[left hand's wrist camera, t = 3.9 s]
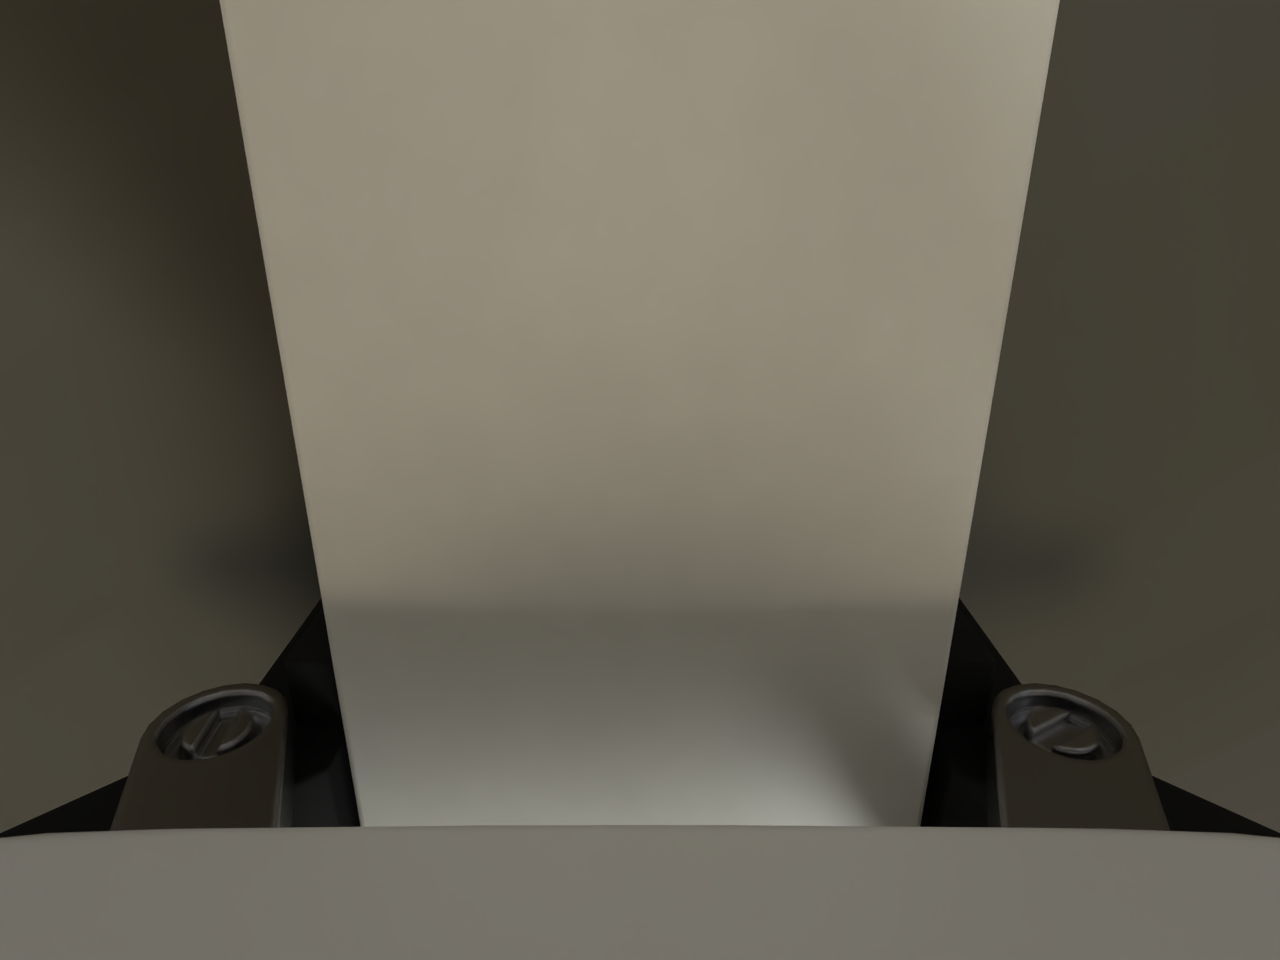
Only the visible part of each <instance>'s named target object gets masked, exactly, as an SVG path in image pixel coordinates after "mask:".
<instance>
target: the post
mask: <svg viewBox="0 0 1280 960" xmlns="http://www.w3.org/2000/svg"><path fill="white" fill-rule="evenodd" d="M1059 1H1060V0H220V6H221V12H222V18H223V24H224V30H225V36H226V41H227V47H228V53H229V59H230V65H231V71H232V76H233V82H234V88H235V94H236V100H237V106H238V112H239V117H240V123H241V129H242V135H243V141H244V147H245V153H246V158H247V164H248V170H249V176H250V182H251V188H252V194H253V199H254V205H255V211H256V217H257V223H258V229H259V235H260V240H261V246H262V252H263V258H264V264H265V270H266V276H267V281H268V287H269V293H270V299H271V305H272V311H273V317H274V322H275V328H276V334H277V340H278V346H279V352H280V358H281V363H282V369H283V375H284V381H285V387H286V393H287V398H288V404H289V410H290V416H291V422H292V428H293V434H294V439H295V445H296V451H297V457H298V463H299V469H300V475H301V480H302V486H303V492H304V498H305V504H306V510H307V516H308V521H309V527H310V533H311V539H312V545H313V551H314V557H315V562H316V568H317V574H318V580H319V586H320V592H321V598H322V603H323V609H324V615H325V621H326V627H327V633H328V639H329V644H330V650H331V656H332V662H333V668H334V674H335V679H336V685H337V691H338V697H339V703H340V709H341V715H342V720H343V726H344V732H345V738H346V744H347V750H348V756H349V761H350V767H351V773H352V779H353V785H354V791H355V797H356V802H357V808H358V814H359V820H360V826H361V827H386V826H474V825H772V826H883V827H920V825H921V819H922V813H923V807H924V801H925V795H926V789H927V783H928V777H929V772H930V766H931V760H932V754H933V748H934V742H935V736H936V730H937V724H938V718H939V712H940V706H941V700H942V694H943V689H944V683H945V677H946V671H947V665H948V659H949V653H950V647H951V641H952V635H953V629H954V623H955V617H956V611H957V606H958V600H959V594H960V588H961V582H962V576H963V570H964V564H965V558H966V552H967V546H968V540H969V534H970V528H971V523H972V517H973V511H974V505H975V499H976V493H977V487H978V481H979V475H980V469H981V463H982V457H983V451H984V445H985V440H986V434H987V428H988V422H989V416H990V410H991V404H992V398H993V392H994V386H995V380H996V374H997V368H998V362H999V357H1000V351H1001V345H1002V339H1003V333H1004V327H1005V321H1006V315H1007V309H1008V303H1009V297H1010V291H1011V285H1012V280H1013V274H1014V268H1015V262H1016V256H1017V250H1018V244H1019V238H1020V232H1021V226H1022V220H1023V214H1024V208H1025V202H1026V197H1027V191H1028V185H1029V179H1030V173H1031V167H1032V161H1033V155H1034V149H1035V143H1036V137H1037V131H1038V125H1039V119H1040V114H1041V108H1042V102H1043V96H1044V90H1045V84H1046V78H1047V72H1048V66H1049V60H1050V54H1051V48H1052V42H1053V36H1054V31H1055V25H1056V19H1057V13H1058V7H1059Z"/></svg>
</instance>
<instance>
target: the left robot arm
mask: <svg viewBox="0 0 1280 960" xmlns="http://www.w3.org/2000/svg"><path fill="white" fill-rule="evenodd" d="M0 960H1280V833H1278V832H1276V831H1274V830H1271V829H1269V828H1267V827H1265V826H1263V825H1260V824H1258V823H1256V822H1254V821H1251V820H1249V819H1247V818H1245V817H1243V816H1240V815H1238V814H1236V813H1234V812H1231V811H1229V810H1227V809H1225V808H1223V807H1220V806H1218V805H1216V804H1214V803H1211V802H1209V801H1207V800H1205V799H1203V798H1200V797H1198V796H1196V795H1194V794H1191V793H1189V792H1187V791H1185V790H1183V789H1180V788H1178V787H1176V786H1174V785H1171V784H1169V783H1167V782H1165V781H1163V780H1160V779H1158V778H1156V777H1154V776H1152V775H1151V772H1150V769H1149V766H1148V763H1147V760H1146V757H1145V754H1144V751H1143V748H1142V746H1141V743H1140V740H1139V738H1138V736H1137V734H1136V732H1135V731H1134V729H1133V727H1132V726H1131V724H1130V723H1129V722H1127V721H1126V720H1125V719H1124V718H1123V717H1122V716H1121V715H1120V714H1119V713H1118V712H1117V711H1115V710H1113V709H1112V708H1110V707H1109V706H1107V705H1105V704H1104V703H1102V702H1101V701H1099V700H1097V699H1095V698H1092V697H1090V696H1087V695H1085V694H1083V693H1080V692H1078V691H1075V690H1071V689H1067V688H1063V687H1059V686H1056V685H1046V684H1036V683H1033V684H1021V683H1020V682H1019V680H1018V679H1017V677H1016V676H1015V675H1014V673H1013V672H1012V670H1011V669H1010V668H1009V666H1008V665H1007V664H1006V662H1005V661H1004V659H1003V658H1002V657H1001V655H1000V654H999V652H998V651H997V650H996V648H995V647H994V646H993V644H992V643H991V641H990V640H989V639H988V637H987V636H986V634H985V633H984V632H983V630H982V629H981V628H980V626H979V625H978V623H977V622H976V621H975V619H974V618H973V616H972V615H971V614H970V612H969V611H968V610H967V608H966V607H965V605H964V604H963V603H962V601H961V600H960V598H959V600H958V606H957V611H956V617H955V623H954V629H953V635H952V641H951V647H950V653H949V659H948V665H947V671H946V677H945V683H944V689H943V694H942V700H941V706H940V712H939V718H938V724H937V730H936V736H935V742H934V748H933V754H932V760H931V766H930V772H929V777H928V783H927V789H926V795H925V801H924V807H923V813H922V819H921V825H920V827H883V826H772V825H474V826H386V827H361V826H360V820H359V814H358V808H357V802H356V797H355V791H354V785H353V779H352V773H351V767H350V761H349V756H348V750H347V744H346V738H345V732H344V726H343V720H342V715H341V709H340V703H339V697H338V691H337V685H336V679H335V674H334V668H333V662H332V656H331V650H330V644H329V639H328V633H327V627H326V621H325V615H324V609H323V603H322V598H321V599H320V601H319V602H318V604H317V605H316V606H315V608H314V609H313V610H312V612H311V613H310V615H309V616H308V617H307V619H306V620H305V622H304V623H303V624H302V626H301V627H300V628H299V630H298V631H297V633H296V634H295V635H294V637H293V638H292V640H291V641H290V642H289V644H288V645H287V646H286V648H285V649H284V651H283V652H282V653H281V655H280V656H279V658H278V659H277V660H276V662H275V663H274V664H273V666H272V667H271V669H270V670H269V671H268V673H267V674H266V676H265V677H264V678H263V680H262V681H261V682H260V684H247V683H244V684H234V685H224V686H221V687H217V688H213V689H209V690H205V691H202V692H200V693H197V694H195V695H193V696H190V697H188V698H185V699H183V700H181V701H179V702H178V703H176V704H175V705H173V706H171V707H170V708H168V709H167V710H165V711H163V712H162V713H161V714H160V715H159V716H158V717H157V718H156V719H155V720H154V721H153V722H151V723H150V724H149V726H148V727H147V729H146V731H145V732H144V734H143V736H142V738H141V740H140V743H139V746H138V748H137V751H136V754H135V757H134V760H133V763H132V766H131V769H130V772H129V775H128V776H127V777H125V778H122V779H120V780H118V781H116V782H114V783H111V784H109V785H107V786H105V787H102V788H100V789H98V790H96V791H94V792H91V793H89V794H87V795H85V796H82V797H80V798H78V799H76V800H74V801H71V802H69V803H67V804H65V805H62V806H60V807H58V808H56V809H54V810H51V811H49V812H47V813H45V814H42V815H40V816H38V817H36V818H34V819H31V820H29V821H27V822H25V823H22V824H20V825H18V826H16V827H14V828H11V829H9V830H7V831H5V832H2V833H0Z"/></svg>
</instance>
